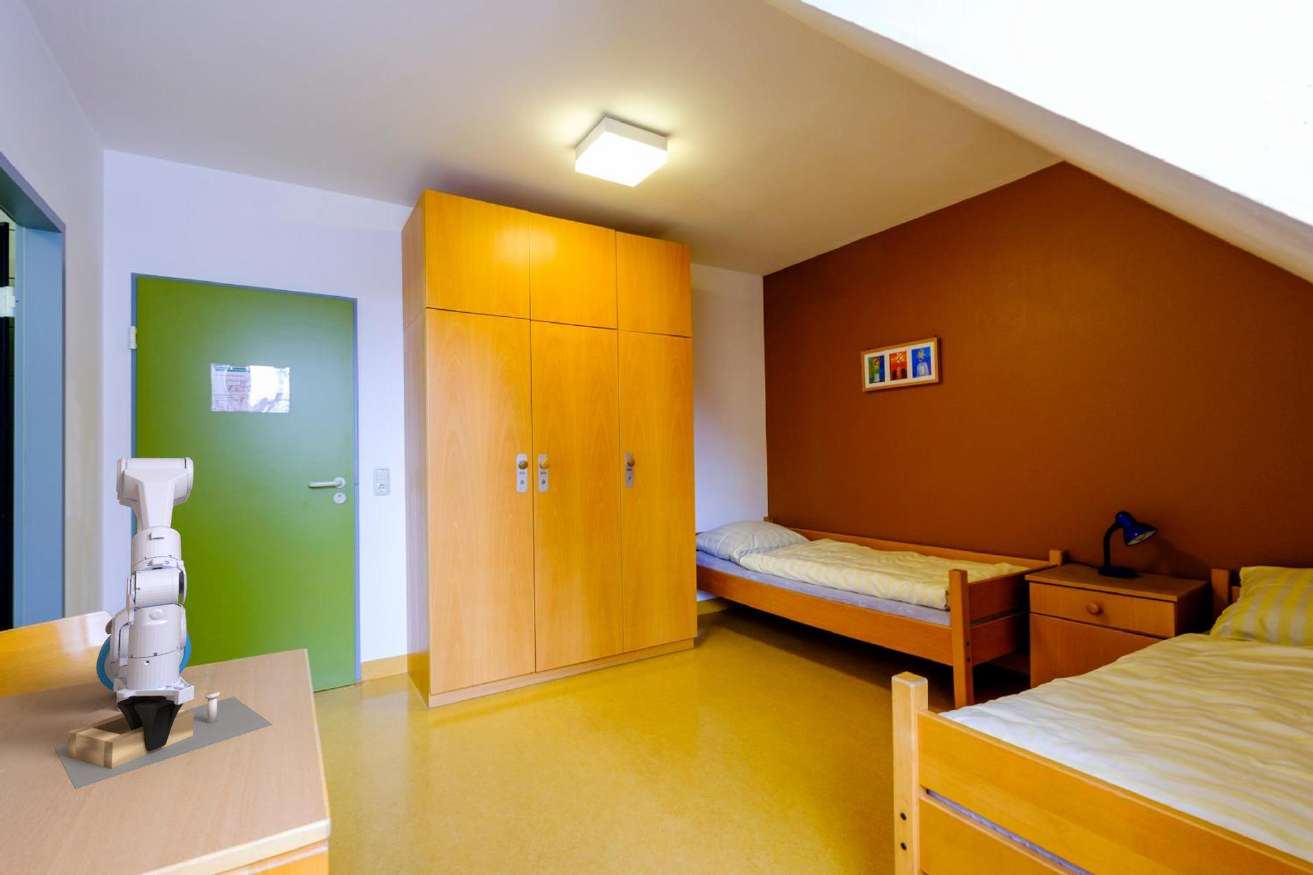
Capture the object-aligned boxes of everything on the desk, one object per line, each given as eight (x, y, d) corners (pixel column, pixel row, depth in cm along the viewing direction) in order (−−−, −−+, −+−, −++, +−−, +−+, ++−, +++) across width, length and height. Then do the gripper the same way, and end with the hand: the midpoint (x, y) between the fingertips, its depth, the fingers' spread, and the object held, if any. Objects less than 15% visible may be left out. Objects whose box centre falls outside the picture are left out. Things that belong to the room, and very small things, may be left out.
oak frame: (67, 756, 80) (68, 731, 80) (150, 725, 89) (151, 703, 89) (111, 768, 76) (112, 742, 77) (192, 735, 86) (193, 711, 86)
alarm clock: (94, 705, 100) (97, 619, 100) (97, 694, 104) (100, 612, 105) (190, 685, 108) (192, 607, 109) (188, 676, 113) (191, 601, 114)
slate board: (53, 754, 82) (55, 716, 83) (233, 703, 100) (234, 671, 100) (75, 798, 72) (77, 753, 72) (272, 731, 89) (273, 696, 90)
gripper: (88, 654, 81) (84, 751, 80) (154, 666, 76) (151, 769, 75) (146, 640, 87) (143, 729, 87) (210, 649, 83) (207, 744, 82)
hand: (151, 746), depth 81 cm, fingers closed on oak frame, 2 cm apart
